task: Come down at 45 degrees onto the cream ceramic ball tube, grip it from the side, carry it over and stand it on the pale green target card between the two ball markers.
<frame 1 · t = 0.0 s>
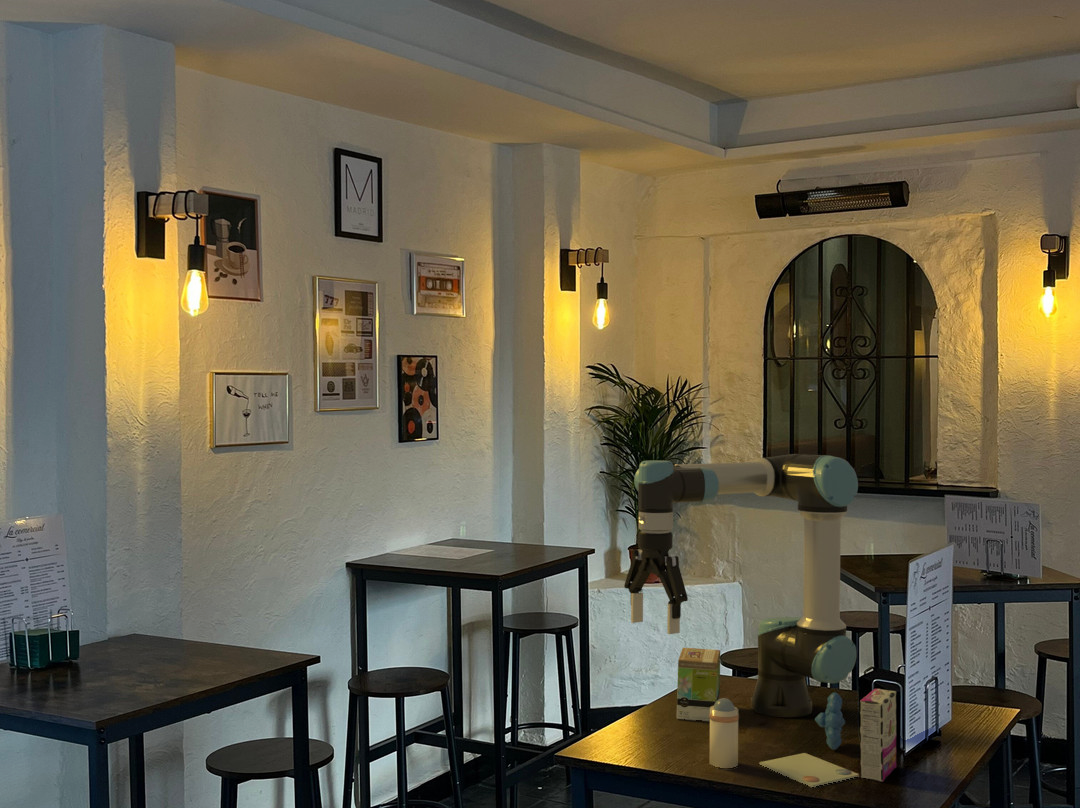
hand: (654, 627, 247), 28 cm above the table, tool pointing down, fingers open, 13 cm apart
grapes: (829, 747, 254), on the table
ball tube: (723, 764, 241), on the table
candy bar box: (878, 773, 236), on the table
tea box: (698, 713, 281), on the table
target card: (808, 771, 237), on the table
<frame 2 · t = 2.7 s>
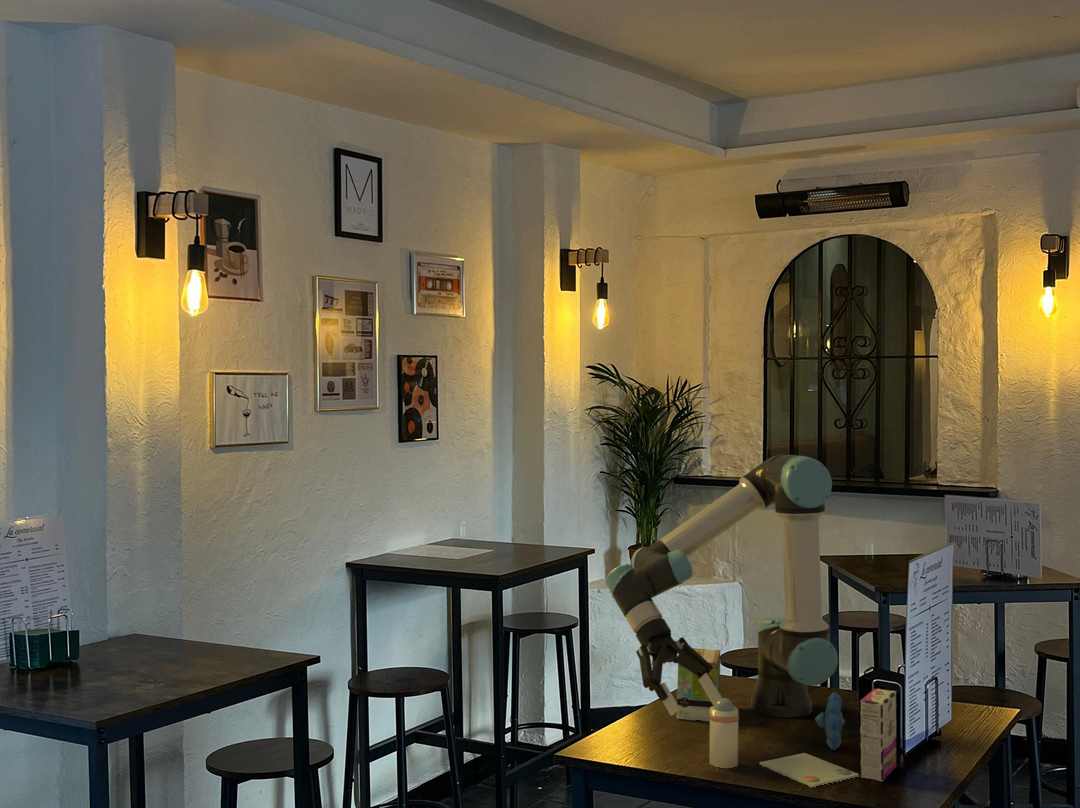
hand: (697, 706, 245), 11 cm above the table, tool tilted 45°, fingers open, 13 cm apart
nothing on the table moved.
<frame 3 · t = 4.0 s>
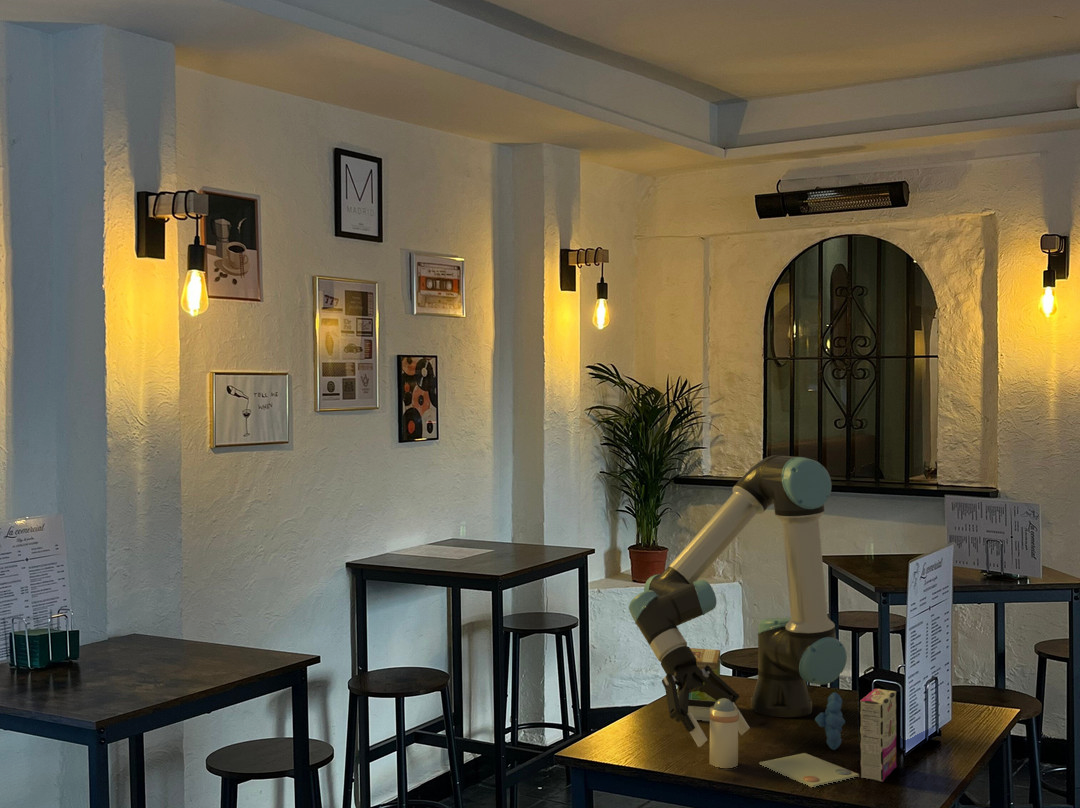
hand: (724, 737, 240), 6 cm above the table, tool tilted 45°, fingers open, 13 cm apart
nothing on the table moved.
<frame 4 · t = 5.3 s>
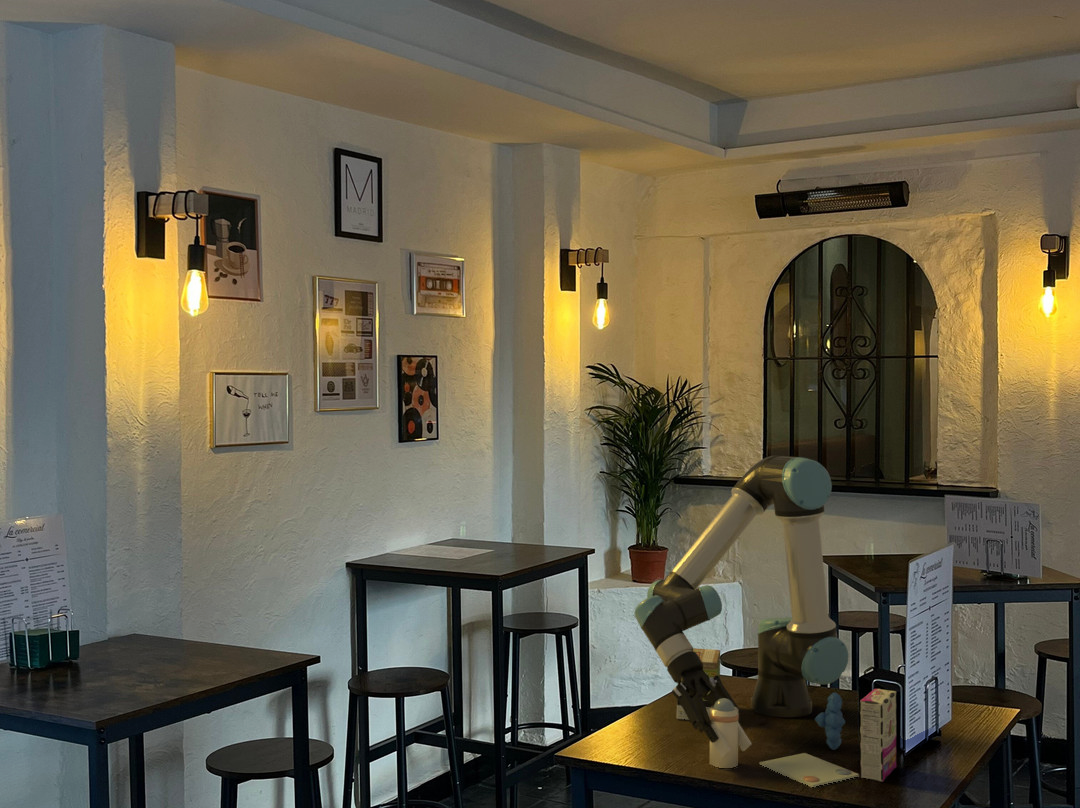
hand: (737, 750, 238), 4 cm above the table, tool tilted 45°, fingers closed on ball tube, 6 cm apart
ball tube: (723, 764, 241), on the table, touching gripper
everything else where it was.
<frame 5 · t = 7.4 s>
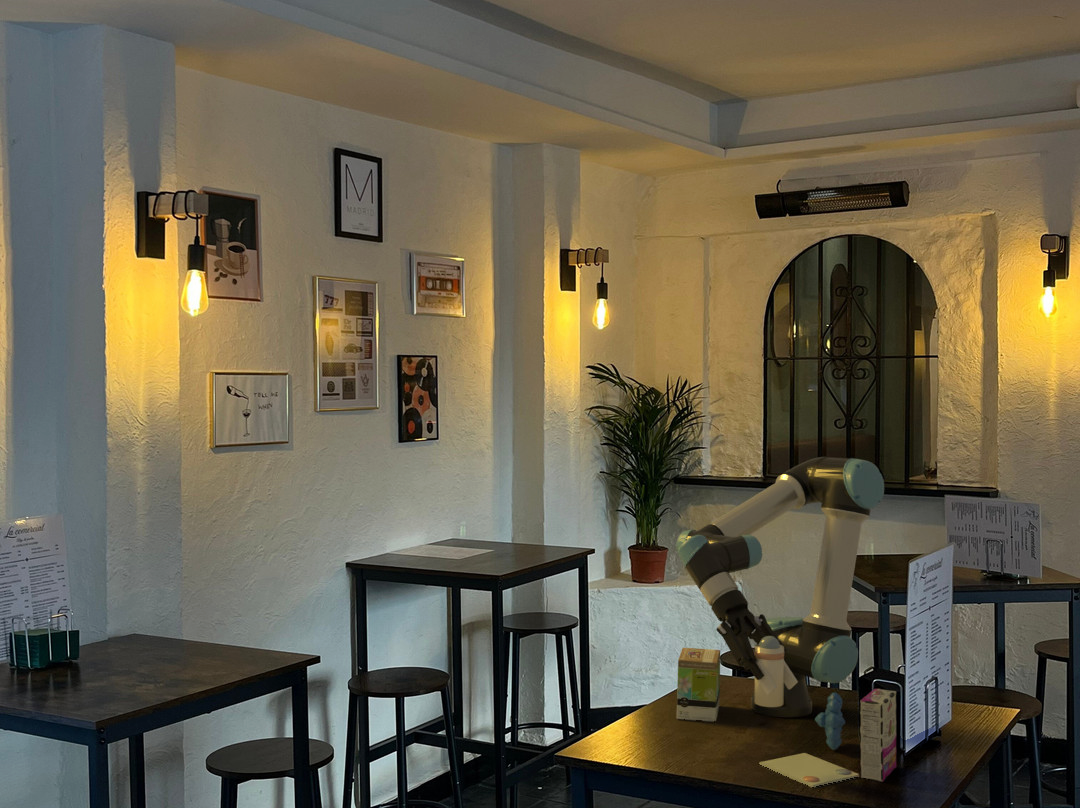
hand: (782, 688, 235), 18 cm above the table, tool tilted 45°, fingers closed on ball tube, 6 cm apart
ball tube: (768, 702, 238), point 14 cm above the table, touching gripper
everything else where it was.
when the fingers open (6 cm above the table, at t = 9.7 s): ball tube drops 1 cm, resting on target card.
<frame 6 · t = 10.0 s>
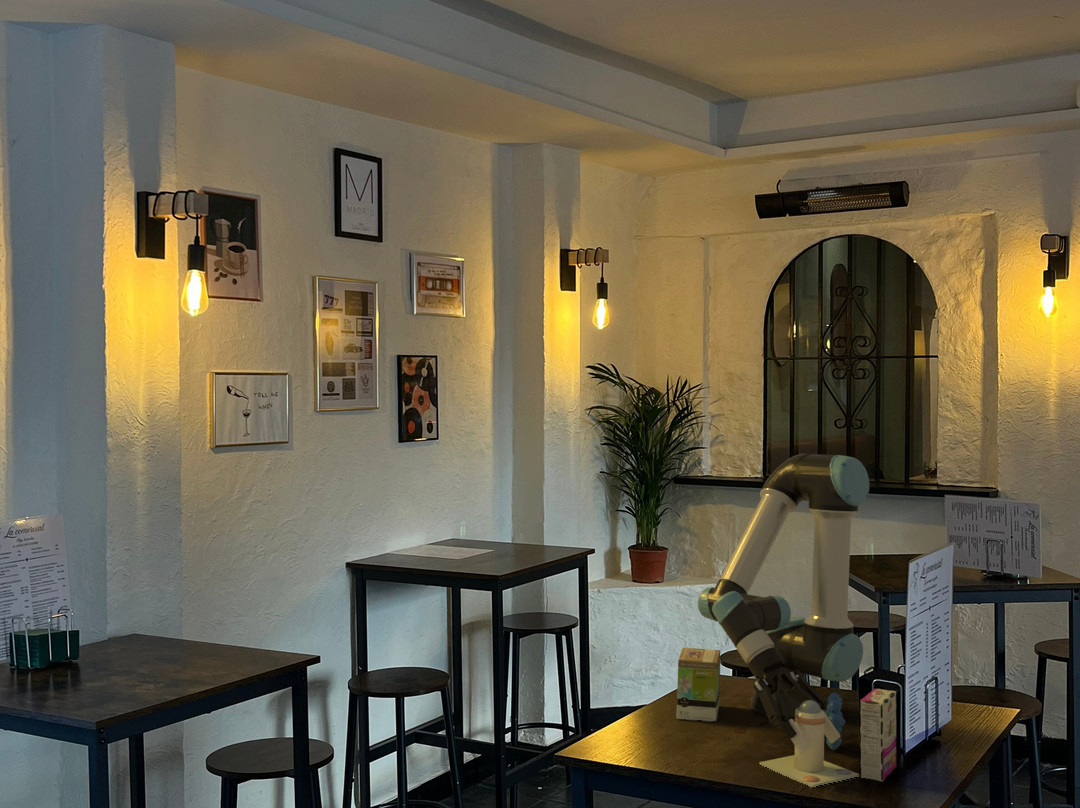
hand: (820, 744, 235), 6 cm above the table, tool tilted 45°, fingers open, 10 cm apart
ball tube: (809, 767, 238), point 1 cm above the table, touching target card
everything else where it was.
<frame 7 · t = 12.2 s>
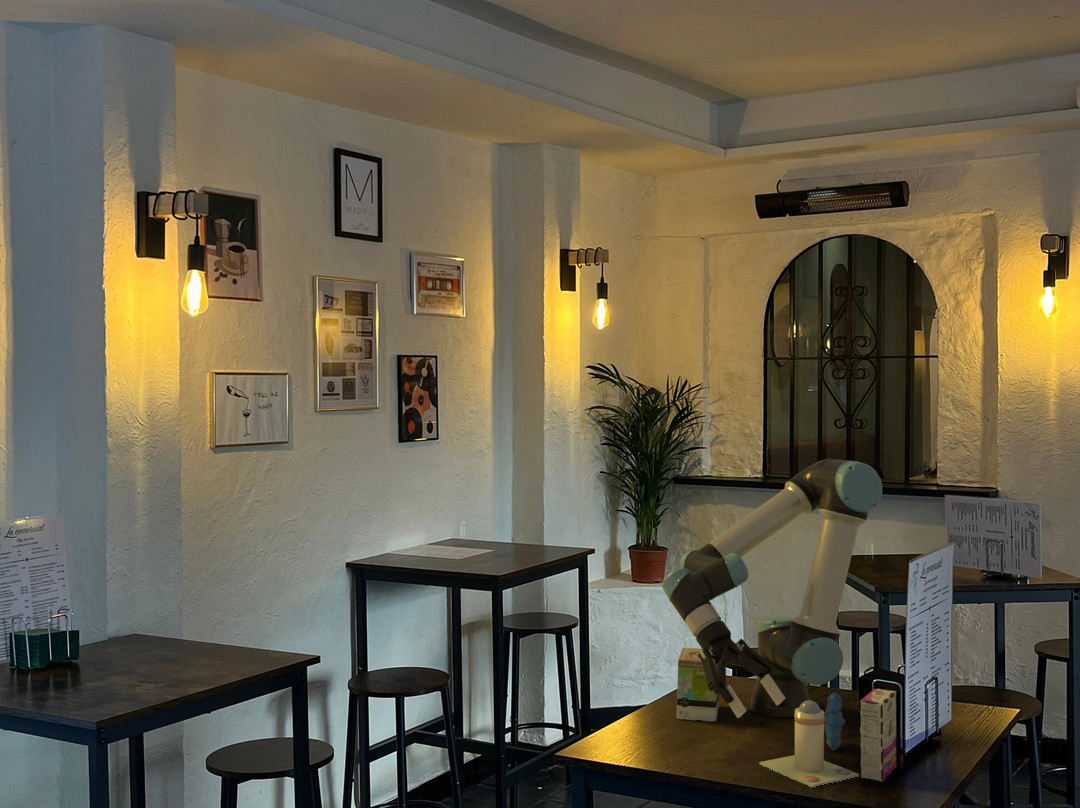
hand: (762, 708, 246), 11 cm above the table, tool tilted 45°, fingers open, 13 cm apart
nothing on the table moved.
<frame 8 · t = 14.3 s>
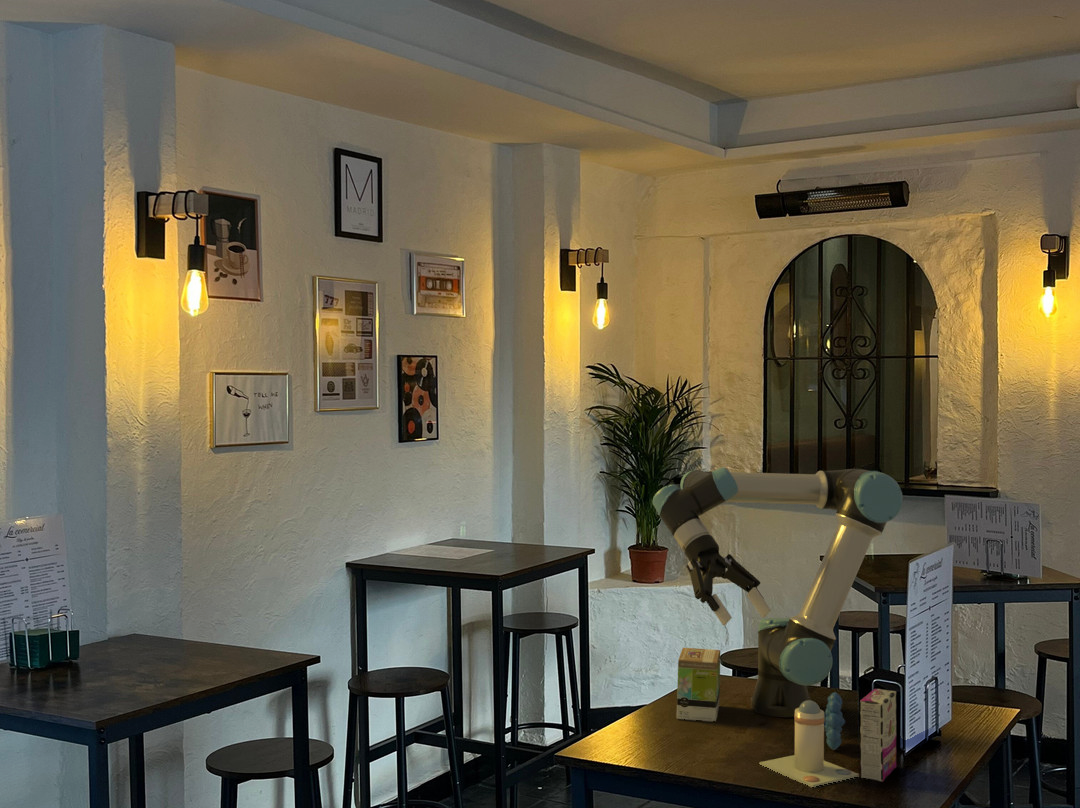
hand: (747, 617, 250), 30 cm above the table, tool tilted 45°, fingers open, 13 cm apart
nothing on the table moved.
at the end: ball tube inside the target area on the target card (0.3 cm from its centre), point 0.6 cm above the target card's base; ball tube tilted 0°; the gripper is holding nothing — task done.
